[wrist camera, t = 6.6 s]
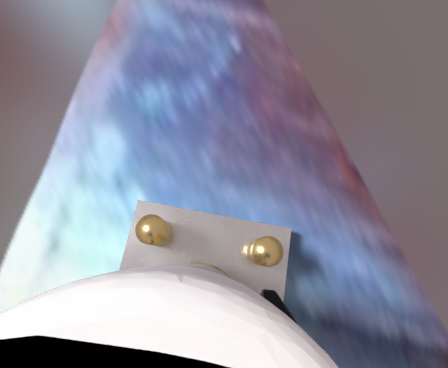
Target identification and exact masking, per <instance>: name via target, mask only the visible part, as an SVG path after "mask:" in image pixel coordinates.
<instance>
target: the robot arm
mask: <svg viewBox="0 0 448 368" xmlns="http://www.w3.org/2000/svg"><path fill="white" fill-rule="evenodd" d="M260 296H262V297H263V298H265V299H266V300H267V301H269V302H270V303H272V304H273V305H274V306H276V307H277V308H278V309H280V310H281V311H282V312H283V313H285V314H286V315H287V316H288V317H289V318H291V319H292V320H293V321H294V322H295V323H296V321H295V319H294V318H293V316H292V315H291V313H290V312H289V310H288V309H287V307H286V306H285V304H284V303H283V301H282V300H281V298H280V297H279V295H278V294H277V292H276V291H274V290H268V289H263V290H262V292H261V295H260ZM296 324H297V323H296ZM297 325H298V324H297ZM105 345H106V344H105ZM106 347H107V349H108V351H111V350H112V348H113V345H106Z"/></svg>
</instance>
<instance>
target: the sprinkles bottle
mask: <svg viewBox="0 0 448 368" xmlns="http://www.w3.org/2000/svg"><path fill="white" fill-rule="evenodd" d="M105 344H106V345H113V348H112V350H111V351H108V349H107V347H106V345H105ZM0 368H339V367H338V366H337V365H336V364H335V362H334V361H333V360H332V359H331V358H330V356H329V355H328V354H327V353H326V352H325V351H324V350H323V349H322V348H321V347H320V346H319V345H318V344H317V343H316V342H315V341H314V340H313V339H312V338H311V337H310V336H309V335H308V334H307V333H306V332H305V331H304V330H303V329H302V328H301V327H300V326H298V325H297V324H296V323H295V322H294V321H293V320H292V319H291V318H289V317H288V316H287V315H286V314H285V313H283V312H282V311H281V310H280V309H278V308H277V307H276V306H274V305H273V304H272V303H270V302H269V301H267V300H266V299H265V298H263V297H262V296H260V295H259V294H258V293H256V292H255V291H253V290H251V289H250V288H248V287H247V286H245V285H244V284H241V283H239V282H237V281H235V280H233V279H231V278H230V277H229V276H227V274H226V273H225V272H224V271H222V270H221V269H220V268H218V267H216V266H213V265H211V264H207V263H193V264H189V265H185V266H148V267H139V268H131V269H125V270H119V271H115V272H111V273H106V274H102V275H97V276H93V277H89V278H85V279H82V280H79V281H76V282H72V283H69V284H66V285H63V286H60V287H57V288H54V289H52V290H50V291H47V292H45V293H43V294H40V295H38V296H36V297H33V298H31V299H29V300H26V301H24V302H22V303H20V304H18V305H16V306H14V307H12V308H10V309H9V310H7V311H5V312H3V313H2V314H0Z"/></svg>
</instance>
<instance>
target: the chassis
mask: <svg viewBox="0 0 448 368" xmlns="http://www.w3.org/2000/svg"><path fill="white" fill-rule="evenodd" d="M290 237H291V229H290V228H285V227H280V226H274V225H269V224H264V223H258V222H253V221H248V220H242V219H237V218H232V217H226V216H221V215H216V214H210V213H205V212H199V211H194V210H189V209H183V208H178V207H173V206H167V205H162V204H157V203H151V202H146V201H141V200H138V204H137V207H136V211H135V215H134V218H133V222H132V226H131V229H130V233H129V237H128V240H127V244H126V248H125V251H124V255H123V258H122V262H121V266H120V269H119V270H125V269H131V268H139V267H148V266H185V265H189V264H193V263H207V264H211V265H213V266H216V267H218V268H220V269H221V270H222V271H224V272H225V273H226V274H227V276H229V277H230V278H231V279H233V280H235V281H237V282H239V283H241V284H244V285H245V286H247V287H248V288H250V289H251V290H253V291H255V292H256V293H258V294H259V295H261V292H262V290H263V289H268V290H274V291H276V292H277V294H278V295H279V297H280V298H281V300H282V301H283V302H284V293H285V284H286V274H287V265H288V256H289V247H290Z"/></svg>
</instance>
